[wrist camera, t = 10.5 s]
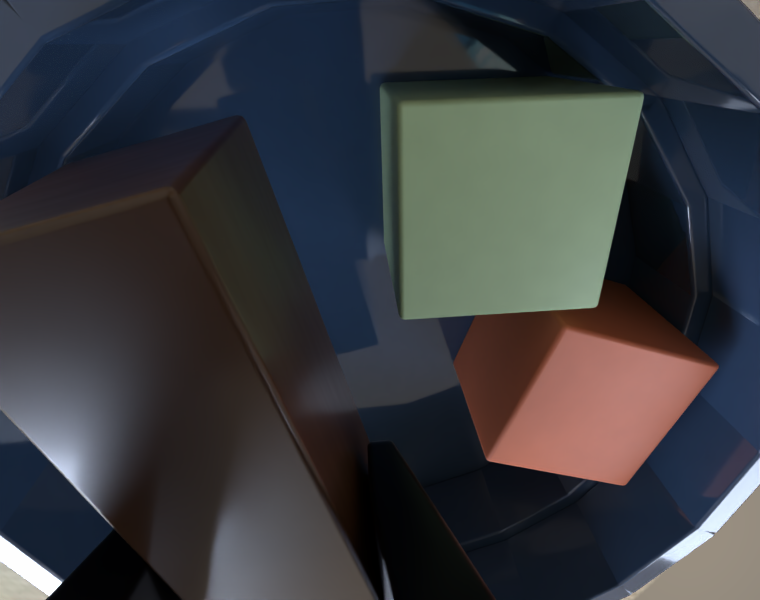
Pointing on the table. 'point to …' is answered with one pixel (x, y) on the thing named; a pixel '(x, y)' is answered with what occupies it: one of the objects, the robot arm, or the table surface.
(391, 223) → the sage block
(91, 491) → the dark brown block
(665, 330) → the terracotta block
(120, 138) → the bowl
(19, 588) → the table surface
